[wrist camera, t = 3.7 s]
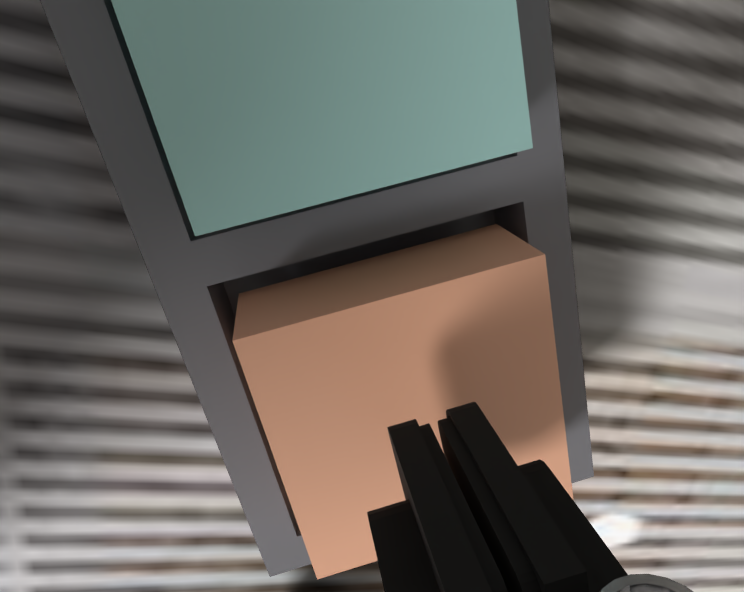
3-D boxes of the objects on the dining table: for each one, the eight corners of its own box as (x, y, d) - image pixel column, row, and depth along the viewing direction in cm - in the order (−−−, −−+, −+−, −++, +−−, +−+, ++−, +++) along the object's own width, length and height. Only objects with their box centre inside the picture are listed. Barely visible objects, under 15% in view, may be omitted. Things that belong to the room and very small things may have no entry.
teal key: (93, -136, 10) (38, -204, 7) (433, -208, 10) (482, -293, 8) (209, 206, 12) (195, 236, 10) (483, 135, 12) (533, 147, 10)
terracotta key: (238, 293, 13) (231, 341, 10) (496, 224, 13) (544, 254, 11) (309, 502, 15) (317, 579, 13) (527, 436, 15) (573, 499, 13)
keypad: (-178, -742, 9) (-475, -1291, 6) (363, -810, 10) (420, -1341, 6) (269, 478, 19) (270, 576, 15) (531, 400, 19) (593, 476, 16)
